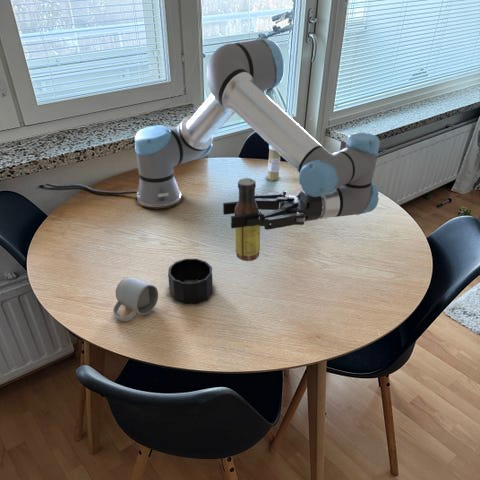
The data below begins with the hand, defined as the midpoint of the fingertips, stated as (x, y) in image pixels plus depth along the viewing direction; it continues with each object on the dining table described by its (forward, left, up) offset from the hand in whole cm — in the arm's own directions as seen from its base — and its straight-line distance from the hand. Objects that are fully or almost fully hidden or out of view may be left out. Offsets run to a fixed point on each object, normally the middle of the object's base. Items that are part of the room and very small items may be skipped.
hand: (227, 215), depth 103 cm
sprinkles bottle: (-17, +69, -21) cm, 74 cm away
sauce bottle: (+4, +3, -12) cm, 13 cm away
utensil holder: (-7, -7, -20) cm, 23 cm away
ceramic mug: (-15, -20, -21) cm, 33 cm away
